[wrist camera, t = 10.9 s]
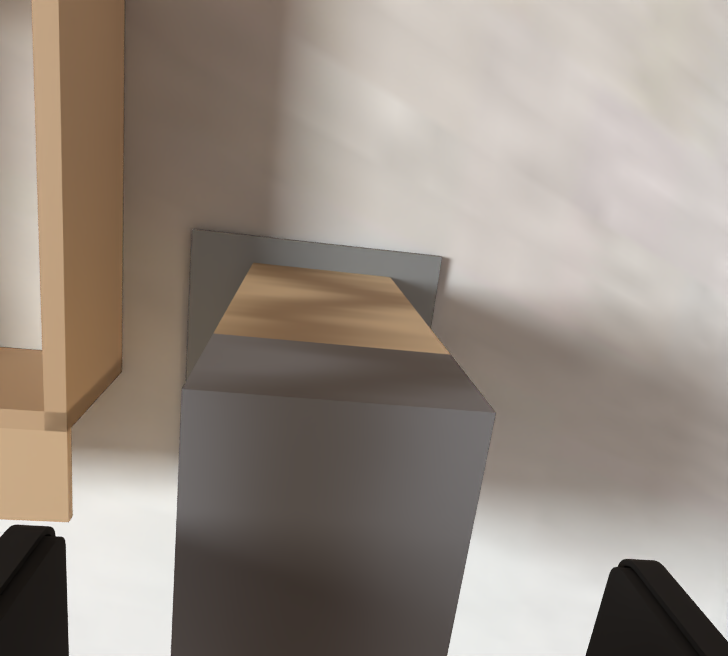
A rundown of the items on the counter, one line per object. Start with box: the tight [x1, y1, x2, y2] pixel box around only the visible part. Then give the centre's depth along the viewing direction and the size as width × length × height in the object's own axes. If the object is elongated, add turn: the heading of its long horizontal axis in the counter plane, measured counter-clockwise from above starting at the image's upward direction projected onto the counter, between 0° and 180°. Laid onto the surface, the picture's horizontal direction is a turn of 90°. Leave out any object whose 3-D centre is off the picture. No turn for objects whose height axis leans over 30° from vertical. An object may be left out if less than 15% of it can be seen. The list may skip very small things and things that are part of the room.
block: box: [171, 263, 496, 656], centre depth 16 cm, size 5×8×12 cm, turn 173°
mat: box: [186, 229, 442, 381], centre depth 21 cm, size 9×10×1 cm
